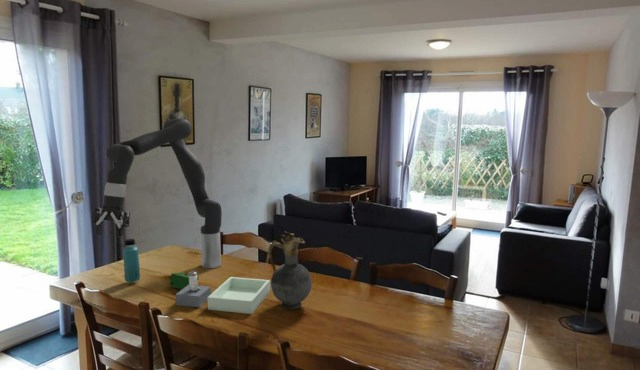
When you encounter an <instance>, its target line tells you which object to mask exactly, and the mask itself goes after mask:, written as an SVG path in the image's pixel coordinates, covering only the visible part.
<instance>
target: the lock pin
mask: <svg viewBox="0 0 640 370" xmlns="http://www.w3.org/2000/svg"><path fill="white" fill-rule="evenodd" d="M188 276H189V292H191V293H196V292H198V286H199V285H198V280H197V276H198V272H197V270H196V271H194V270H192V271H189V272H188Z"/></svg>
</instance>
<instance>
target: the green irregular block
mask: <svg viewBox="0 0 640 370" xmlns="http://www.w3.org/2000/svg"><path fill="white" fill-rule="evenodd" d="M197 281H199V276H198V275H197ZM169 285H170V287H172V288H174V289H178V290H182V289H183V288H185V287H186V286H187V285H189V275H188V273H186V272H174V273H173V272H172V273H171V276H170V280H169Z"/></svg>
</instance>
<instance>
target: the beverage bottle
mask: <svg viewBox="0 0 640 370" xmlns="http://www.w3.org/2000/svg"><path fill="white" fill-rule="evenodd" d="M124 245H125V246H126V247H124V248H123V249H122V254H123V255H122V256H123V257H122V258H123V270H124V275H123V276H124V281H125V282H127V283H134V282H138V281H140V279H141V269H140V256H139V248H138V247H137V246H136V240H135V239H134V238H128V239H125V240H124Z"/></svg>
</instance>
